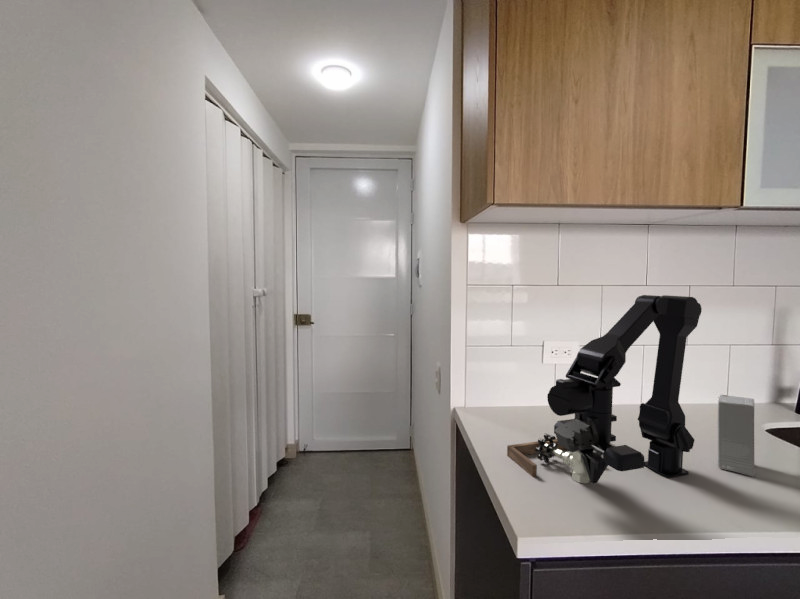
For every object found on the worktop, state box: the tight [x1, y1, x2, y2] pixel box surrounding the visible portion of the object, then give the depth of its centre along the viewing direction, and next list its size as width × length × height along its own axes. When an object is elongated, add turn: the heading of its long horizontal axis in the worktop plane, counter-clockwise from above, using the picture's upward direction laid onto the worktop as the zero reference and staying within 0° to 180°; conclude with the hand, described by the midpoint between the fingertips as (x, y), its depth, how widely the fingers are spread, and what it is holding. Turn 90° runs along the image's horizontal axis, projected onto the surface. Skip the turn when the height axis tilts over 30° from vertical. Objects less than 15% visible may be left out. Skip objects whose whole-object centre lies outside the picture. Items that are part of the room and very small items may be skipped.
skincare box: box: [717, 394, 756, 477], centre depth 92 cm, size 8×7×16 cm
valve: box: [535, 433, 590, 484], centre depth 90 cm, size 7×7×12 cm
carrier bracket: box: [506, 438, 567, 477], centre depth 95 cm, size 18×10×2 cm, turn 106°
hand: (593, 482), depth 82 cm, fingers closed
